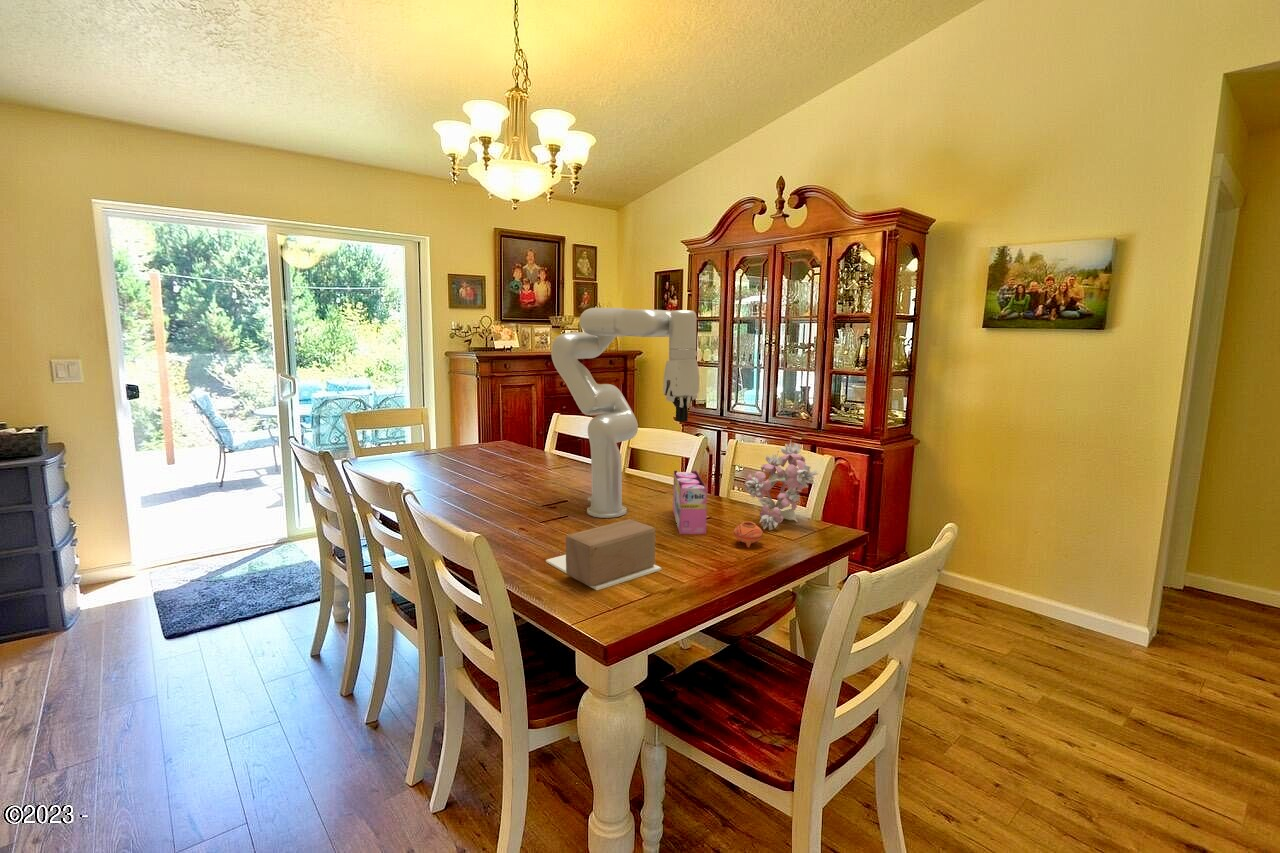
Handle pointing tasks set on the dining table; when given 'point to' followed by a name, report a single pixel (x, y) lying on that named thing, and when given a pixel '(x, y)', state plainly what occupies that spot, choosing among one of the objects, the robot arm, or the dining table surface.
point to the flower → (790, 496)
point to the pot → (748, 533)
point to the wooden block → (609, 551)
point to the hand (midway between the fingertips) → (681, 420)
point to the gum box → (689, 502)
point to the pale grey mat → (561, 565)
